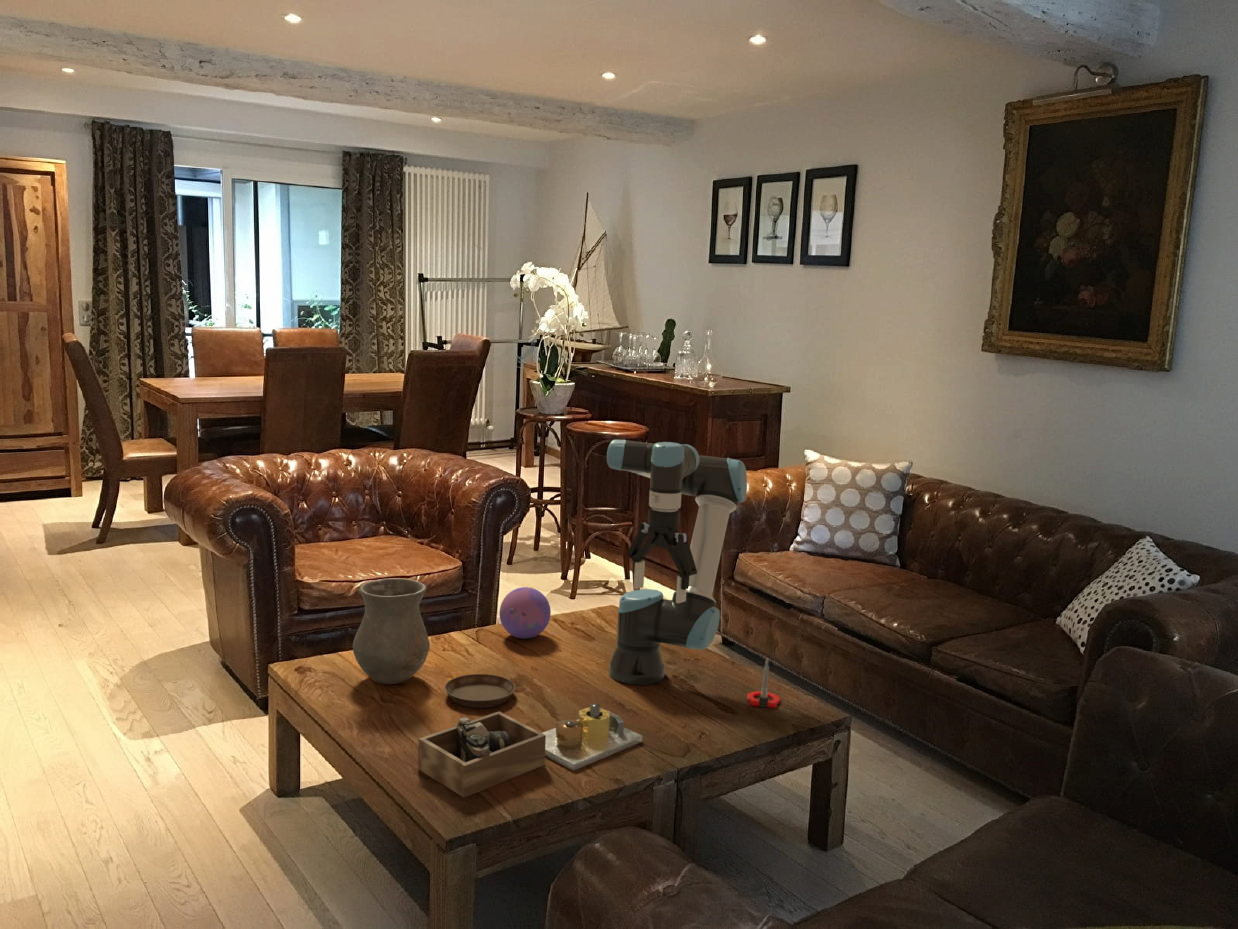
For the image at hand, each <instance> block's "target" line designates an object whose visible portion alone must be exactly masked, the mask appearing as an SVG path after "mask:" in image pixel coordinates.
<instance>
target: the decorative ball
mask: <svg viewBox="0 0 1238 929" xmlns="http://www.w3.org/2000/svg"><path fill="white" fill-rule="evenodd" d="M551 612H552V611H551V605H550V602H549V601H548V599H547V597H546V595H544V594H543V593H542V592H541V591H539V590H538V589H535V588H533V587H527V586H524V587H517V588H515V589H513V590H511V591H510V592H509V593H508V594H506V596H505V597H504V598H503V599H502V602H501V603H500V608H499V620H500V623H501V625H502V627H503V628H504V629H505V631H506V632H507V633H508V634H510V635H511V636H513V637H514V638H518V639H522V640H523V639H532V638H535V637H537V636H538V635H540V634H541V633H543V631H545V629H546V628H547V627H548V625H549V623H550V620H551V615H552V613H551Z"/></svg>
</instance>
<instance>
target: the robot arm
mask: <svg viewBox="0 0 1238 929" xmlns="http://www.w3.org/2000/svg"><path fill="white" fill-rule="evenodd" d="M606 463H607V466H608V467H609V468H610V469H613V470H618V471H623V472H624V471H626V472H630V473H634V474H636V475H639V476H643V477H646V478H649V479H650V482H649V484H650V485H649V497H648V499H649V500H648V507H649V508H648V514H647V522H641V523H638V528H637V531H636V534H635V537H634V539H633V541H632V543H631V545H630V546H629V549H628V551H627V553H626V556H627V558H629V559H631V560H632V573H633V589H634V590H629V591H627V592H625V593H624V594H622V595H621V597H620V599H619V605H618V606H619V607H618V609H617V614H618V616H617V633H616V634H617V636H616V638H617V639H616V647H615V649H614V652H613V655H612V658H611V660H610V662H609V666H608V674H609V676H610V678H612V679H613V680H615V681H617V682H620V683H623V684H629V685H636V686H638V685H640V686H641V685H642V686H643V685H652V684H657V683H659V682H661V681H662V680H664V678H665V671H666V670H665V668H666V667H665V664H664V663H663V658H662V653H661V650H660V649H661V648H660V644H665V645H669V646H676V647H680V648H685V649H688V650H692V649H693V650H700V651H702V650H706V649H708V648H709V647H710V645H711V644H712V643H713V641H714V640H715V637H716V634H717V633H718V632H717V631H718V629H719V624H720V618H721V611H720V610H719V608H717V606H716V604H717V601H716V600H715V598H714V597H713V591H714V587H715V583H716V578H717V574H718V573H717V572H718V568H719V564H720V560H721V555H722V550H723V544H724V540H725V536H726V532H727V528H728V527H727V526H728V524H729V518H730V514H731V513H733V512H734V511H736V510H737V506H738V503H740V504H741V503H744V502H745V501H746V498H747V493H748V492H747V491H748V475H747V469H746V466H745V464H744V462H743V461H741V460H740V459H735V458H730V457H719V456H709V455H699V452H698V451H697V449H696V448H695V447H694V446H692V445H690V444H684V443H683V444H682V443H681V444H680V443H678V442H673V441H672V442H671V441H662V442H659V441H658V442H656V443H652V442H650V443H649V442H642V441H635V440H626V439H613V440H612V441H610V443H609V445H608V447H607V452H606ZM682 495H685V496H692V497H695V503H696V504H697V506H698V511H697V515H696V519H695V520H696V521H695V523H694V524H695V525H694V528H693V533H692V537H691V542H689V541H690V540H689V539H690V537H689V533H688V532H684V533H680V532H679V531H678V528H679V525H680V520H681V511H680V508H681V507H682ZM648 534H649V536H647V535H648ZM646 537H648V538H646ZM645 539H646V540H645ZM654 547H660V548H661V549H665V550H666V552H668V553H669V555H670V557H671V558H672V560H673V563H674V564H675V567H676V569H677V571H678V574H679V575H676V576H677V578H676V590H675V591H674V592H673V594H672V597H671V598H672V599H665V598H664V594H663V592H662V591H660V590H657V589H652V588H651V589H650V588H649V589H648V588H647V589H645V588H644V583H645V566H646V561H644V558H645V557H646V556H647V555H648V553H650V551H651V550H652V549H653V548H654ZM642 588H644V589H642Z"/></svg>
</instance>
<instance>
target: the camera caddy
mask: <svg viewBox="0 0 1238 929" xmlns="http://www.w3.org/2000/svg"><path fill="white" fill-rule="evenodd" d="M470 722H473V724H475V723H478V722H480V723H482V724H483V726H484V727H485V728H486V730H487V731H488V732H489V731H492V732H496V731H506V732H507V734H508V735H509V738H510V743H511V746H508V747H506V748H503V749H500V750H498V751H495V752H492V753H490V754H488V755H485V756H482V757H479V758H476V759H474V760H471V761H468V762H464V761H462V760H460V759H459V758H458V755H457V725H455V726H452V727H449V728H446V729H443V730H440V731H437V732H435V733H434V732H433V733H432V734H429V735H426V736H423V737H419V738H418V757H417V758H418V760H417V764H418V766H417V767H418V768H417V769H418V770H419V772H422V773H424V774H425V775H427V776H429V778H432V779H433V780H435V781H436V782H438V783H440V784H441V785H442V786H445V787H446V788H447V789H450V790H451V791H453V792H454V793H456V794H457V795H459V796H460V797H462V798H467V797H469V796H471V795H474V794H476V793H479V792H482V791H484V790H487V789H488V788H489V789H490V788H491V787H495V786H496V785H499V784H501V783H503V782H506V781H508V780H511V779H513V778H514V779H515V778H516V777H518V776H521V775H523V774H525V773H528V772H531V771H533V770H536V769H538V768H541V767H543V766H546V764H545V762H546V761H545V760H546V756H545V743H546V735H544V734H543V732H541V731H539V730H536V729H534V728H533V727H531V726H529V725H526V724H524V723H523V722H521V721H519V720H517V719H515V718H513V717H511V716H509V715H507V714H505V713H503V712H501V711H497V712H496V711H495V712H493V713H490V714H487V715H484V716H482V717H478V718H475V719H473V720H472V719H471V720H470Z"/></svg>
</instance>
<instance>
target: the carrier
mask: <svg viewBox="0 0 1238 929" xmlns="http://www.w3.org/2000/svg"><path fill="white" fill-rule="evenodd" d="M589 707H590V717H599V716H600V708H601V705H600V704H599V703H591V704H590V706H589ZM609 716H610V718H609V737H608V738H606V739H603V740H601V741H588V740H585V739H583V738H582V731H583V724H582V723H581V722H579V718H578V719H561V720H558V721H557V722H556V723H555V727H554V728H551V729H549V730H546V731H543V732H542V733H543V734H544V735H546V743H545V758H549V759H550V760H552V761H554V762H556V763H558V764H560V765H562V766H563V767H565V768H567V769H569V770H571V771H576V770H579V769H581V768H583V767H585V766H588V765H590V764H593V763H595V762H598V761H600V760H602V759H605V758H607V757H609V756H611V755H614V754H616V753H617V754H618V753H619V752H621V751H624V750H626V749H628V748H631V747H633V746H635V745H637V744H640V743H642V742H643V735H642V734H641V733H640V734H639V733H637V732H635V731H634V730H631V729H628V728H627V727H625V722H624V720H623V719H622V717H621V716H620V715H618V714H616V713H614V712H611V711H609Z"/></svg>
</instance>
